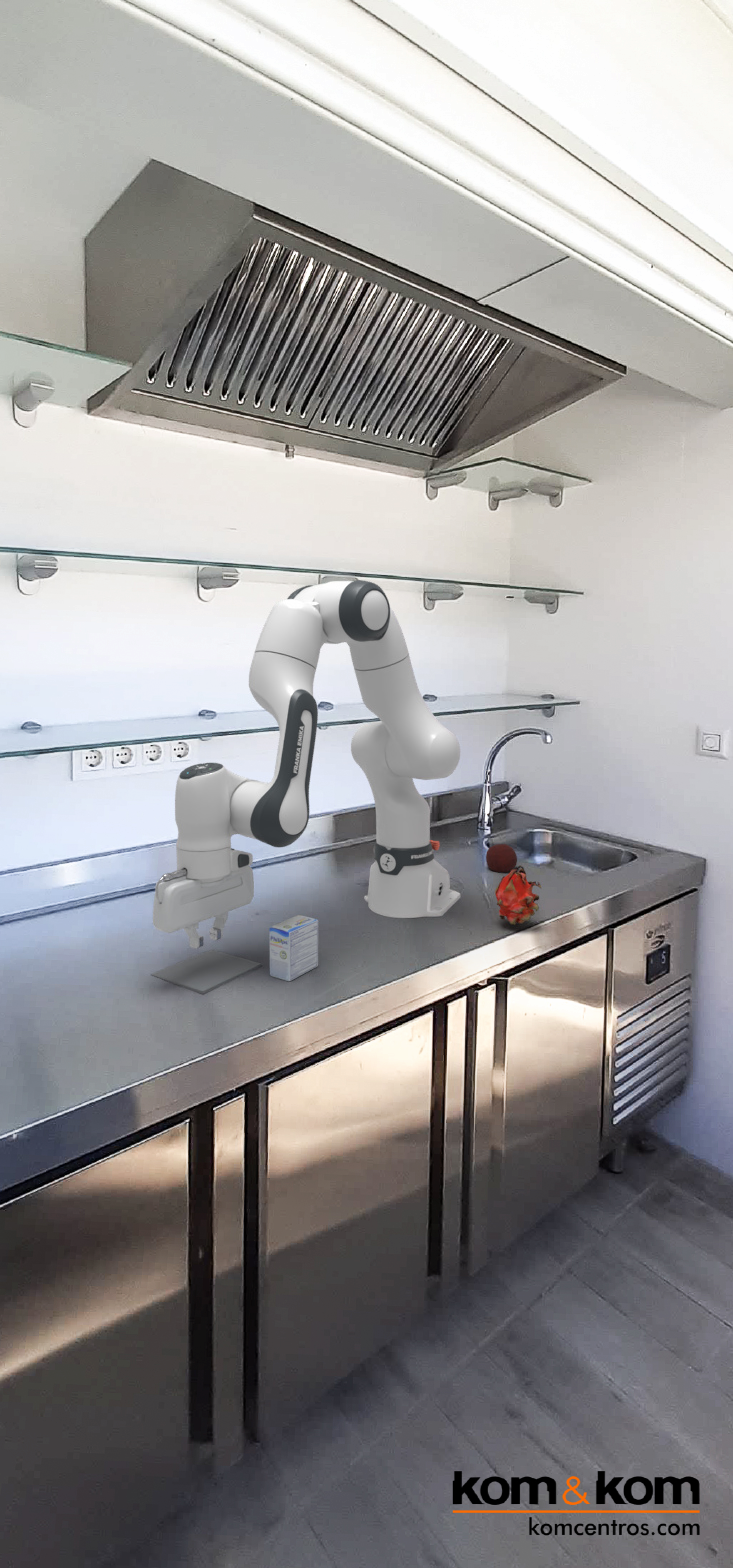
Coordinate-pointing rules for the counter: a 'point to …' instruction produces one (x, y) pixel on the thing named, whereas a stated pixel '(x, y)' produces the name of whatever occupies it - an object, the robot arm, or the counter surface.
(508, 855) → the dark brown ball
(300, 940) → the medicine box
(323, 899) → the counter surface
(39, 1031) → the counter surface
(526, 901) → the dragon fruit
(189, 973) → the mat
